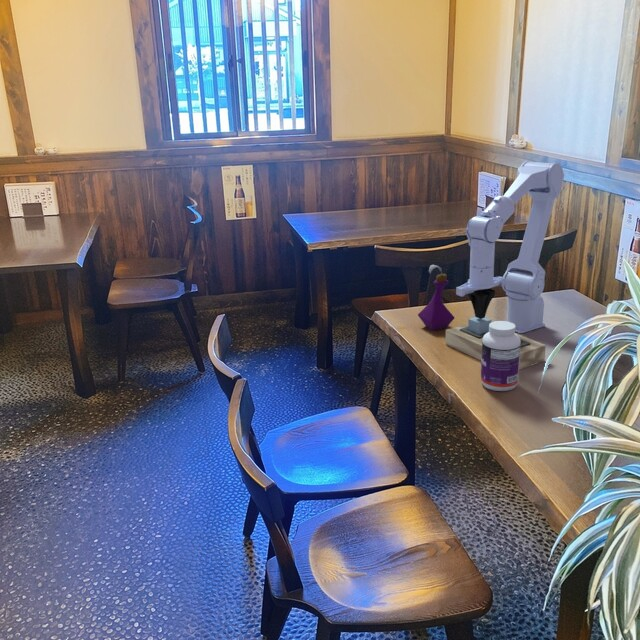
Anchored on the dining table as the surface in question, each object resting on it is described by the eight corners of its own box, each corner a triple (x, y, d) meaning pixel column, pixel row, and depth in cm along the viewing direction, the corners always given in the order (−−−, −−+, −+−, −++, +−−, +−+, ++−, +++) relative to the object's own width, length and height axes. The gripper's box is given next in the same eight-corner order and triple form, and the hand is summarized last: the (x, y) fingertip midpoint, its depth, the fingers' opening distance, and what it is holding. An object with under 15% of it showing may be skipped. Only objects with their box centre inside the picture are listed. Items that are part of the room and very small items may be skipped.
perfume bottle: (439, 320, 178) (440, 259, 172) (454, 328, 172) (456, 266, 166) (417, 325, 176) (417, 264, 170) (431, 333, 169) (432, 270, 163)
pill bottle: (483, 375, 144) (485, 317, 139) (519, 379, 141) (523, 320, 136) (478, 390, 137) (480, 330, 132) (516, 395, 134) (519, 333, 129)
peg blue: (479, 330, 161) (480, 315, 160) (490, 335, 158) (491, 319, 157) (468, 334, 160) (468, 318, 158) (479, 339, 156) (479, 323, 155)
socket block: (479, 333, 168) (480, 318, 166) (544, 360, 150) (545, 343, 148) (445, 344, 162) (445, 328, 161) (508, 373, 144) (509, 356, 143)
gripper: (491, 257, 159) (489, 307, 164) (448, 267, 152) (447, 319, 157) (512, 262, 153) (509, 314, 158) (468, 273, 147) (466, 327, 151)
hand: (479, 317), depth 157 cm, fingers closed
